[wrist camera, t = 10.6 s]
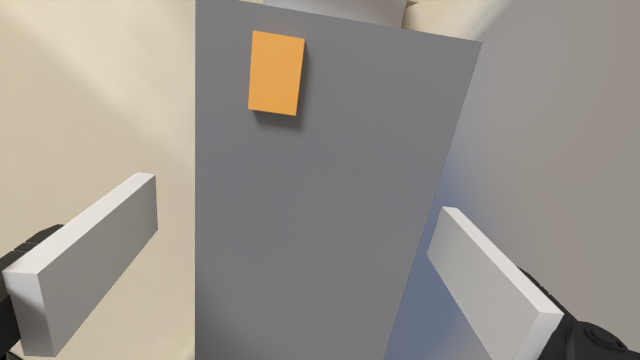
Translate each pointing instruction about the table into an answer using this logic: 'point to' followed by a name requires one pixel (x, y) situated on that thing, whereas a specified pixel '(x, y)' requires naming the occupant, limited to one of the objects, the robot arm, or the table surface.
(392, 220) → the grey box orange tab
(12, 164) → the table surface
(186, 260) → the table surface
